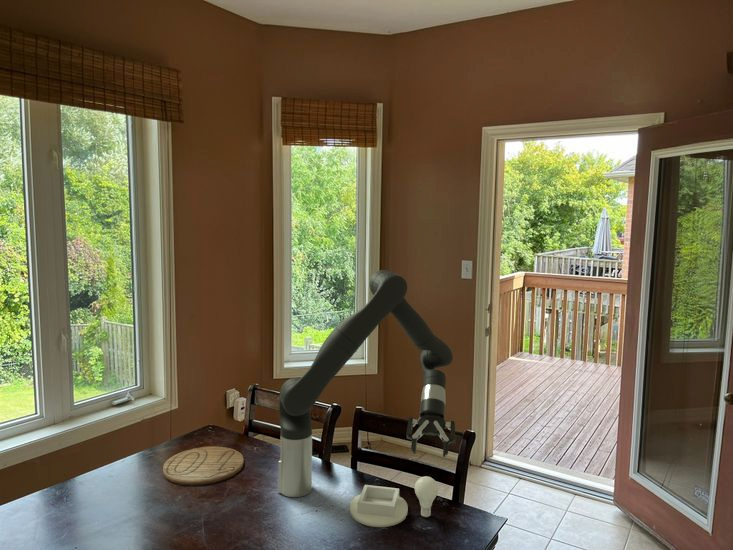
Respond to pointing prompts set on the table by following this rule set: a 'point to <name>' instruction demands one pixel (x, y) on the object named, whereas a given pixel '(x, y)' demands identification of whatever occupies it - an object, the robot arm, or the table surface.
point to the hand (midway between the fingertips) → (429, 454)
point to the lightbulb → (426, 493)
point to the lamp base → (379, 506)
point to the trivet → (203, 465)
